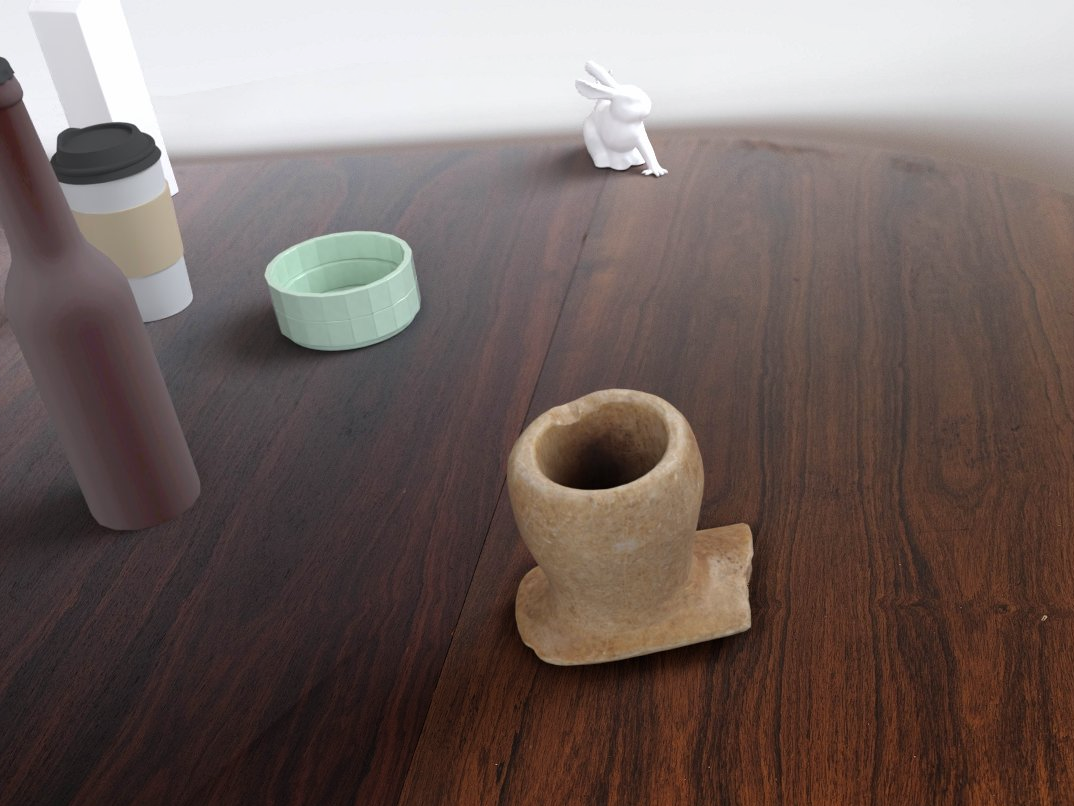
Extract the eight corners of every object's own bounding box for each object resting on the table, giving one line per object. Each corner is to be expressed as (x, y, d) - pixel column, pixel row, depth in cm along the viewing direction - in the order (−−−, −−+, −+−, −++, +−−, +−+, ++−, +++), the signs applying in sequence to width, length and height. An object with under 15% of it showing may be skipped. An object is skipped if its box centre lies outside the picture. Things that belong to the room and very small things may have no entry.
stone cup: (530, 713, 73) (493, 491, 63) (511, 587, 82) (475, 373, 72) (792, 671, 74) (797, 444, 64) (746, 550, 83) (743, 333, 72)
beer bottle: (178, 475, 95) (15, 32, 74) (226, 516, 91) (68, 56, 70) (82, 519, 92) (-116, 68, 71) (128, 564, 87) (-69, 97, 67)
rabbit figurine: (669, 175, 128) (664, 71, 121) (597, 191, 126) (588, 87, 120) (626, 137, 136) (619, 37, 129) (559, 151, 135) (548, 51, 128)
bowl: (250, 336, 110) (234, 280, 107) (344, 276, 117) (331, 222, 114) (359, 365, 105) (345, 307, 101) (450, 300, 112) (440, 244, 108)
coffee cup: (223, 283, 118) (171, 112, 108) (174, 330, 112) (114, 154, 102) (137, 279, 120) (78, 111, 110) (85, 325, 114) (17, 152, 104)
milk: (135, 187, 138) (57, -47, 122) (180, 192, 135) (107, -46, 120) (97, 210, 134) (12, -29, 118) (143, 216, 132) (63, -27, 116)
